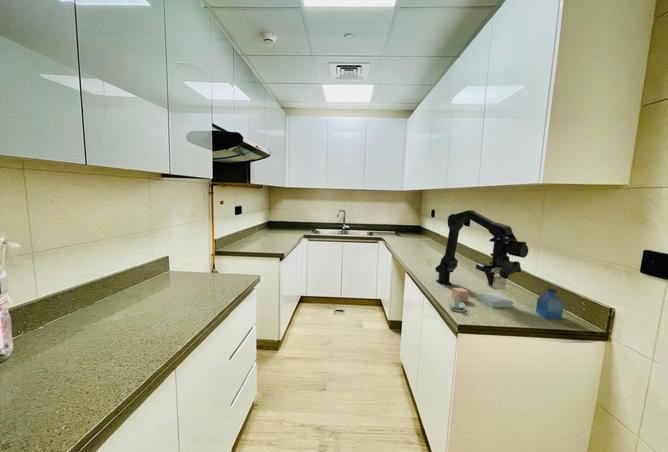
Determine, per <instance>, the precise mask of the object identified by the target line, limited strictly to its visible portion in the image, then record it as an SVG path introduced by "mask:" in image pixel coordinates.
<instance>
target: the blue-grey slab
mask: <svg viewBox="0 0 668 452" xmlns="http://www.w3.org/2000/svg"><path fill="white" fill-rule="evenodd" d="M477 299H478V300H479V301H481V302H482V303H484V304H486V305H487V306H490V307H491V308H513V306H514V301H513V300H511V299H509V298H508V297H505V296H503V295H501V294H500V293H497V292H496V293H495V292H492V293H491V292H490V293H487V292H486V293H479V292H478V294H477Z"/></svg>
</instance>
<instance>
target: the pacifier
mask: <svg viewBox="0 0 668 452" xmlns="http://www.w3.org/2000/svg"><path fill="white" fill-rule="evenodd" d="M453 300H454V303H453V304H451V303H448V306H450V307H452V309H451V310H452V311H454V312H461V313H462V312H466V311H467V309H466V308H465V306H466V304H465V302H459V301H460V297H459V295H455V296H454V299H453Z"/></svg>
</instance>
